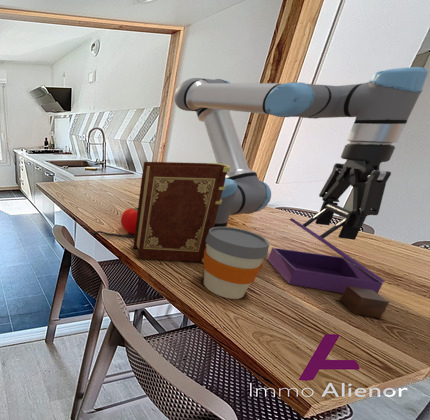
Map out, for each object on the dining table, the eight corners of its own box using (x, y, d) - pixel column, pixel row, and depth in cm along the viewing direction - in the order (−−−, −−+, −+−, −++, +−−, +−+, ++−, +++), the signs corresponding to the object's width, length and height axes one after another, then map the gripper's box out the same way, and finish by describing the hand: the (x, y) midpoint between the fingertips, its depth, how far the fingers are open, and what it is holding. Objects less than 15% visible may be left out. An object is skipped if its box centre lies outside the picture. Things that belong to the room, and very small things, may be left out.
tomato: (150, 240, 91) (154, 214, 87) (118, 236, 94) (121, 211, 91) (148, 228, 102) (152, 205, 98) (120, 224, 105) (123, 202, 101)
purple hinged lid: (316, 237, 61) (355, 210, 57) (289, 219, 73) (319, 196, 68) (382, 282, 59) (427, 258, 55) (343, 257, 71) (378, 235, 67)
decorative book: (199, 250, 83) (219, 163, 74) (211, 263, 76) (235, 167, 66) (132, 247, 85) (143, 161, 76) (137, 259, 78) (150, 165, 68)
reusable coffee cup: (235, 310, 56) (253, 253, 51) (186, 281, 67) (196, 231, 62) (263, 294, 62) (281, 241, 57) (213, 269, 72) (225, 223, 67)
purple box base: (288, 283, 66) (294, 269, 65) (267, 260, 78) (272, 247, 76) (374, 298, 61) (383, 283, 59) (338, 271, 72) (344, 257, 71)
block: (353, 313, 56) (361, 297, 54) (339, 300, 60) (347, 285, 58) (380, 318, 54) (389, 302, 53) (364, 305, 58) (372, 289, 57)
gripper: (442, 147, 46) (388, 252, 54) (357, 141, 66) (325, 219, 73) (388, 146, 49) (343, 246, 56) (321, 140, 68) (294, 215, 75)
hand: (333, 230), depth 65 cm, fingers closed on purple hinged lid, 9 cm apart
